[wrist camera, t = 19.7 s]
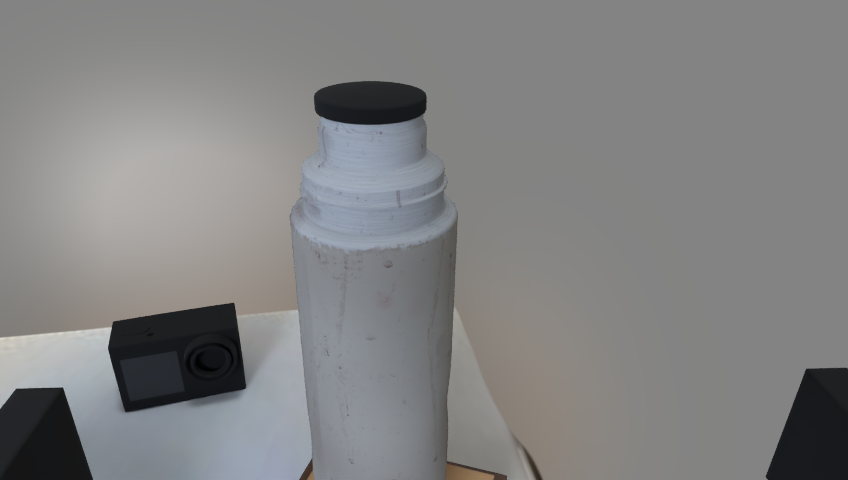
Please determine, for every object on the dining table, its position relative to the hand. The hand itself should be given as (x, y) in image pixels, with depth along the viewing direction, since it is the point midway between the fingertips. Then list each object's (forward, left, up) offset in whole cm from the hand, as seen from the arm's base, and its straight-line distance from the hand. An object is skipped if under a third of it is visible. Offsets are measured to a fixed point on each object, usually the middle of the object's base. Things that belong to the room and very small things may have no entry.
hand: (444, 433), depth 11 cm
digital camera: (+31, -28, -30) cm, 52 cm away
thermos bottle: (+8, -17, -26) cm, 32 cm away
